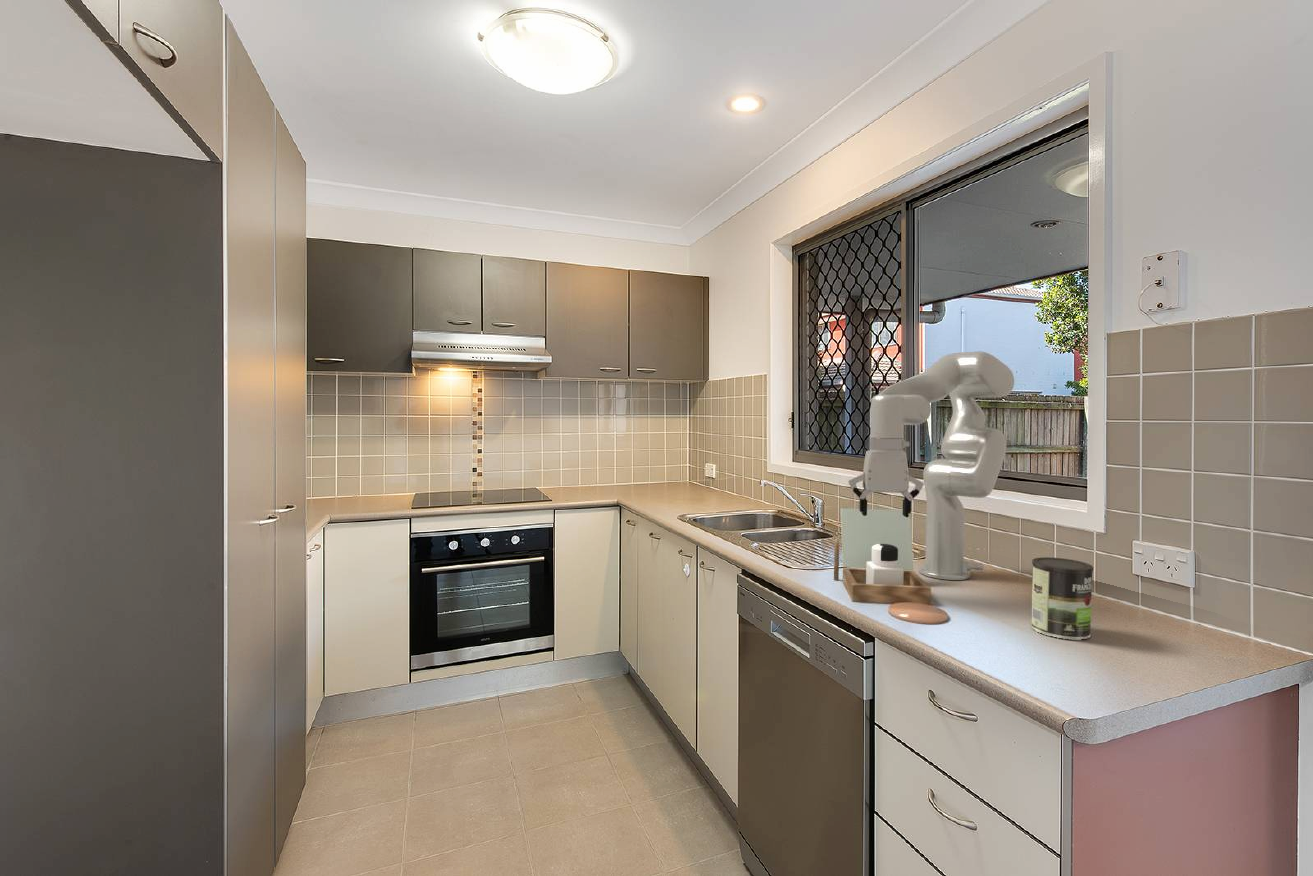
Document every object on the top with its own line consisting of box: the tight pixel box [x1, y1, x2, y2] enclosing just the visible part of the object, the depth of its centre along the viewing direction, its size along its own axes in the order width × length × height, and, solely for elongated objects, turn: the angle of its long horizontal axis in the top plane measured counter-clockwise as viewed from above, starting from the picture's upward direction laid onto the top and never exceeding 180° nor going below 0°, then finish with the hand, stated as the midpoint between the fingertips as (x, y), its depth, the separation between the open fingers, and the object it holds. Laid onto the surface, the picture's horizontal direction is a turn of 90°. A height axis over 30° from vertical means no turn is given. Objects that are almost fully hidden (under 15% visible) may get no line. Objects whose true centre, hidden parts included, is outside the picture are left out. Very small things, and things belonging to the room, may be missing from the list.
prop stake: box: [833, 537, 840, 582], centre depth 161 cm, size 1×1×11 cm
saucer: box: [888, 602, 949, 625], centre depth 134 cm, size 12×12×1 cm
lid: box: [839, 507, 914, 571], centre depth 160 cm, size 17×15×2 cm
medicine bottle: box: [865, 544, 904, 585], centre depth 149 cm, size 7×7×12 cm
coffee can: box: [1030, 556, 1094, 641], centre depth 123 cm, size 10×10×14 cm
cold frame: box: [842, 567, 932, 606], centre depth 149 cm, size 17×15×4 cm
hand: (884, 515), depth 148 cm, fingers open, 9 cm apart
